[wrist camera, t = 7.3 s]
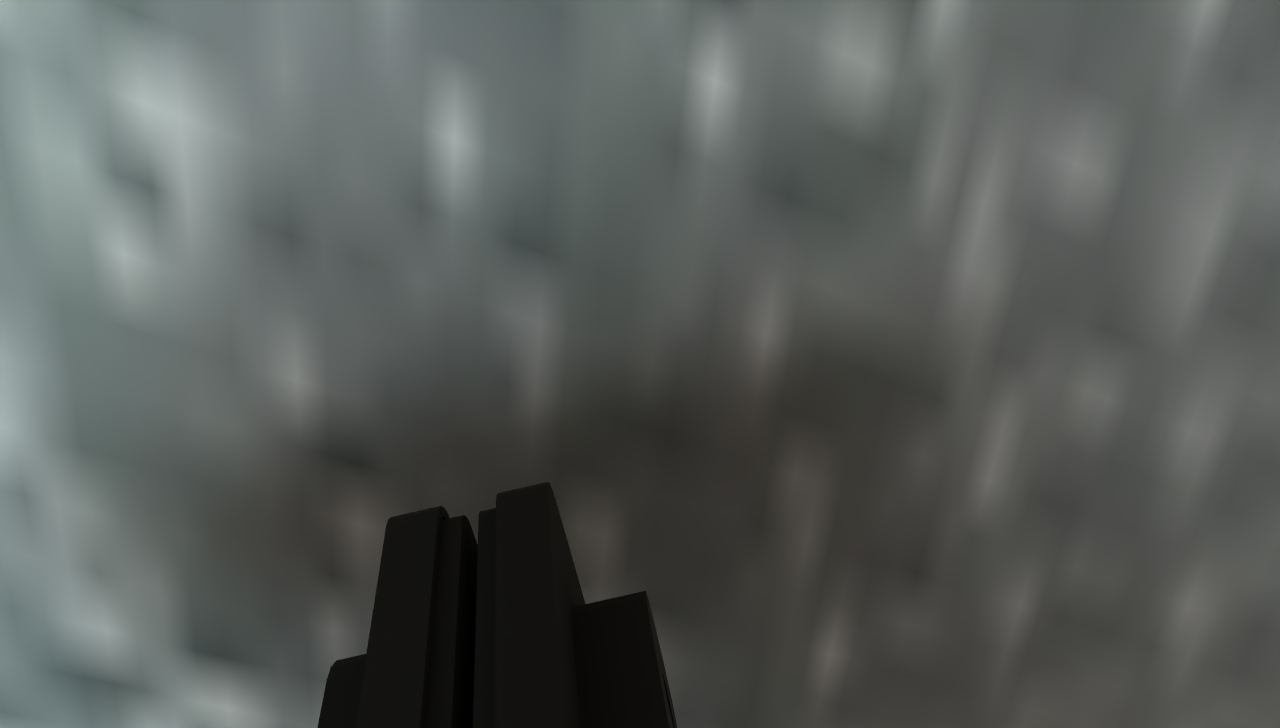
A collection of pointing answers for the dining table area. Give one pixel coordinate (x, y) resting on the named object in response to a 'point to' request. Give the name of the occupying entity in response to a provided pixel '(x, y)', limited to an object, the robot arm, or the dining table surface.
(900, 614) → the dining table surface
